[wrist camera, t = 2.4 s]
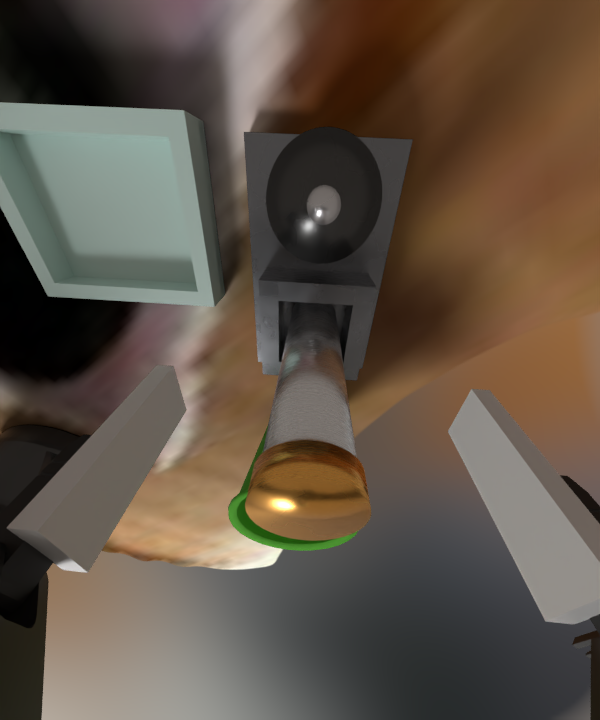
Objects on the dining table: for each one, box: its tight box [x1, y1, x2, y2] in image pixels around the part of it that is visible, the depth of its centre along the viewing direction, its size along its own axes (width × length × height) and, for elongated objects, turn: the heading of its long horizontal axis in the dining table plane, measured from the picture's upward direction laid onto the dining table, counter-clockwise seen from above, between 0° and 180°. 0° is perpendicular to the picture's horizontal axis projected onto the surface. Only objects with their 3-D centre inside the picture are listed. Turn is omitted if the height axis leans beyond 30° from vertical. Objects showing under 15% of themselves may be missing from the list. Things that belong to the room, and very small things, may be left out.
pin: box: [245, 302, 371, 541], centre depth 14 cm, size 4×4×14 cm
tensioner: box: [244, 127, 412, 380], centre depth 17 cm, size 9×15×5 cm, turn 178°
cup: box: [228, 427, 358, 550], centre depth 22 cm, size 9×9×11 cm
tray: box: [0, 102, 225, 307], centre depth 16 cm, size 12×10×2 cm
